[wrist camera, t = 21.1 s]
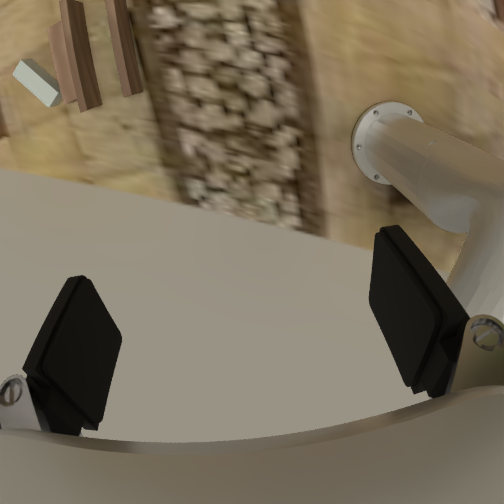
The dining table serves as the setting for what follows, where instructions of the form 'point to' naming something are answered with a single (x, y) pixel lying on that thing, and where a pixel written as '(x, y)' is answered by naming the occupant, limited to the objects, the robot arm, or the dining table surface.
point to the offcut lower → (61, 62)
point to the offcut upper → (38, 82)
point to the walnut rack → (82, 55)
